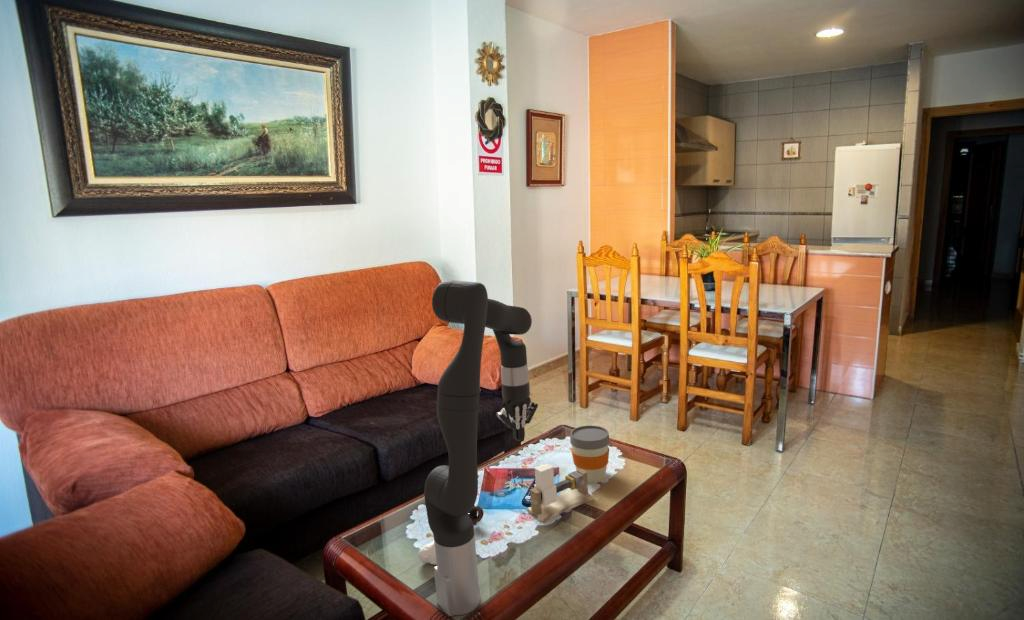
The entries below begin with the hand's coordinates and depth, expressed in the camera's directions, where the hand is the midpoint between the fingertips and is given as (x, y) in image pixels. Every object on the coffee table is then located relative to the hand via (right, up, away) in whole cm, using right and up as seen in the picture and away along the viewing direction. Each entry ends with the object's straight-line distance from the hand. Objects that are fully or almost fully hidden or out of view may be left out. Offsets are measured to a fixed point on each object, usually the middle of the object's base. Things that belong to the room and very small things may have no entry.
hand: (519, 439), depth 167 cm
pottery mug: (-15, -26, +6) cm, 30 cm away
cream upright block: (+8, -19, +9) cm, 23 cm away
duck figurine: (-20, -29, -10) cm, 37 cm away
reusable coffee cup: (+24, -18, +28) cm, 41 cm away
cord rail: (+12, -22, +12) cm, 28 cm away
